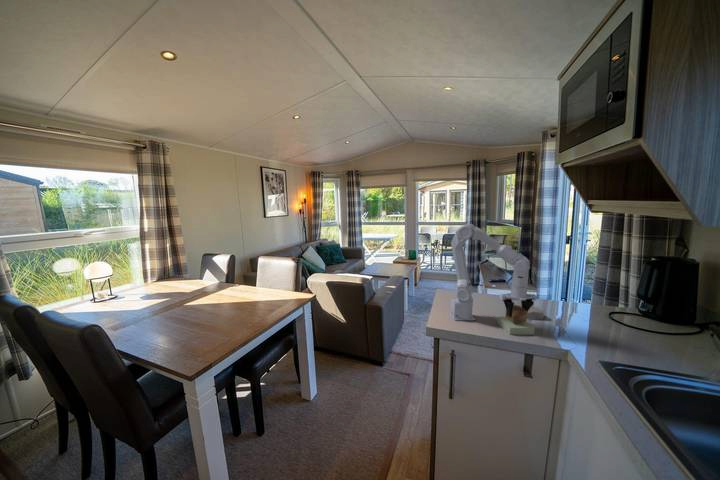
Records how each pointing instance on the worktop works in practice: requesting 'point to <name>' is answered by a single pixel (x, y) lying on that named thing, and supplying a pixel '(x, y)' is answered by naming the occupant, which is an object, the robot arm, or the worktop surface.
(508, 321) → the base block
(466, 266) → the robot arm
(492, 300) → the worktop surface
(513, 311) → the walnut block
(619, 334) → the worktop surface
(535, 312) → the stone block
